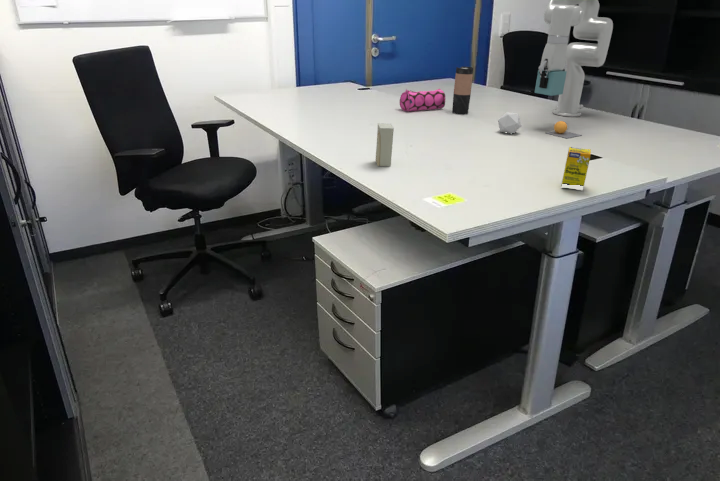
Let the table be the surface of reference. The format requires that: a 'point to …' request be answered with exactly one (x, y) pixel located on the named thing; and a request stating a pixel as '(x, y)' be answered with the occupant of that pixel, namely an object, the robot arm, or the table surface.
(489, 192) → the table surface
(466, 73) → the travel mug
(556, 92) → the teal toy cube
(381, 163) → the skincare box
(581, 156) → the supplement box
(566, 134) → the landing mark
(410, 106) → the pencil case
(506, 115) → the die
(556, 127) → the ball
